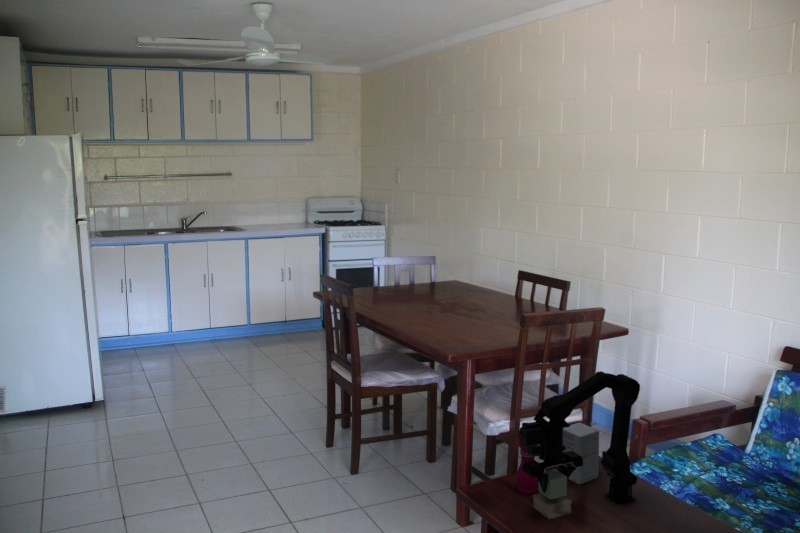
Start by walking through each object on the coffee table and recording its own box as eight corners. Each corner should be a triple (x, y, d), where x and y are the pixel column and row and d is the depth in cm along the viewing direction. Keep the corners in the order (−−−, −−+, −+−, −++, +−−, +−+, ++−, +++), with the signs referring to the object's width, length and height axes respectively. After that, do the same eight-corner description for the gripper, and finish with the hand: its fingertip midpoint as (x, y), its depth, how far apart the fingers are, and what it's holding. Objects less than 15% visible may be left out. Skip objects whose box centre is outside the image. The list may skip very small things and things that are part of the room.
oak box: (555, 501, 210) (555, 489, 210) (571, 513, 203) (572, 501, 202) (532, 507, 207) (532, 494, 206) (548, 519, 199) (549, 507, 199)
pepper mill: (543, 490, 217) (544, 431, 215) (527, 497, 213) (528, 437, 211) (527, 482, 223) (528, 425, 220) (511, 488, 219) (512, 430, 216)
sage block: (554, 487, 208) (554, 468, 207) (566, 495, 203) (566, 476, 202) (538, 491, 206) (538, 472, 205) (550, 499, 200) (550, 480, 199)
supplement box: (578, 467, 233) (579, 421, 231) (599, 477, 226) (600, 430, 223) (558, 474, 228) (559, 427, 226) (579, 485, 221) (580, 436, 218)
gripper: (562, 426, 213) (561, 473, 215) (512, 437, 205) (511, 485, 208) (584, 439, 203) (583, 488, 205) (533, 451, 195) (532, 501, 197)
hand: (552, 490), depth 204 cm, fingers closed on sage block, 6 cm apart
